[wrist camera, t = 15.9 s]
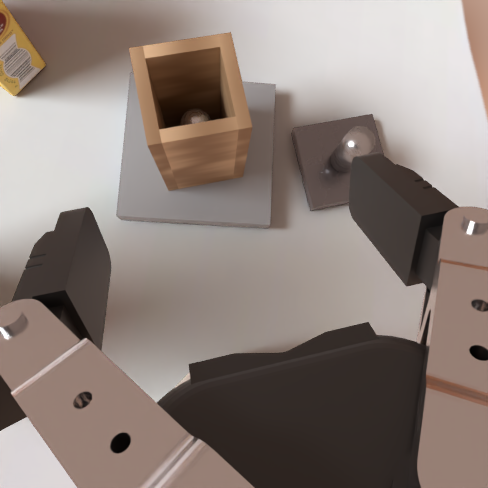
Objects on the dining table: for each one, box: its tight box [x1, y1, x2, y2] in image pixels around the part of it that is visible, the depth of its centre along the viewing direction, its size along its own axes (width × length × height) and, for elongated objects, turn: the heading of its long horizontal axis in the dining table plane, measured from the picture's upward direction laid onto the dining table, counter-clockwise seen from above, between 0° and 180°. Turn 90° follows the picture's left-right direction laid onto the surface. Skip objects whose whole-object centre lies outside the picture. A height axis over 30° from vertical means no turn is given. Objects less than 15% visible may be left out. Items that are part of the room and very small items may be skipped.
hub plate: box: [116, 73, 276, 228], centre depth 29 cm, size 12×12×7 cm
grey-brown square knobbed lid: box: [291, 114, 383, 211], centre depth 31 cm, size 7×7×5 cm
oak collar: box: [129, 32, 252, 191], centre depth 26 cm, size 6×6×9 cm
